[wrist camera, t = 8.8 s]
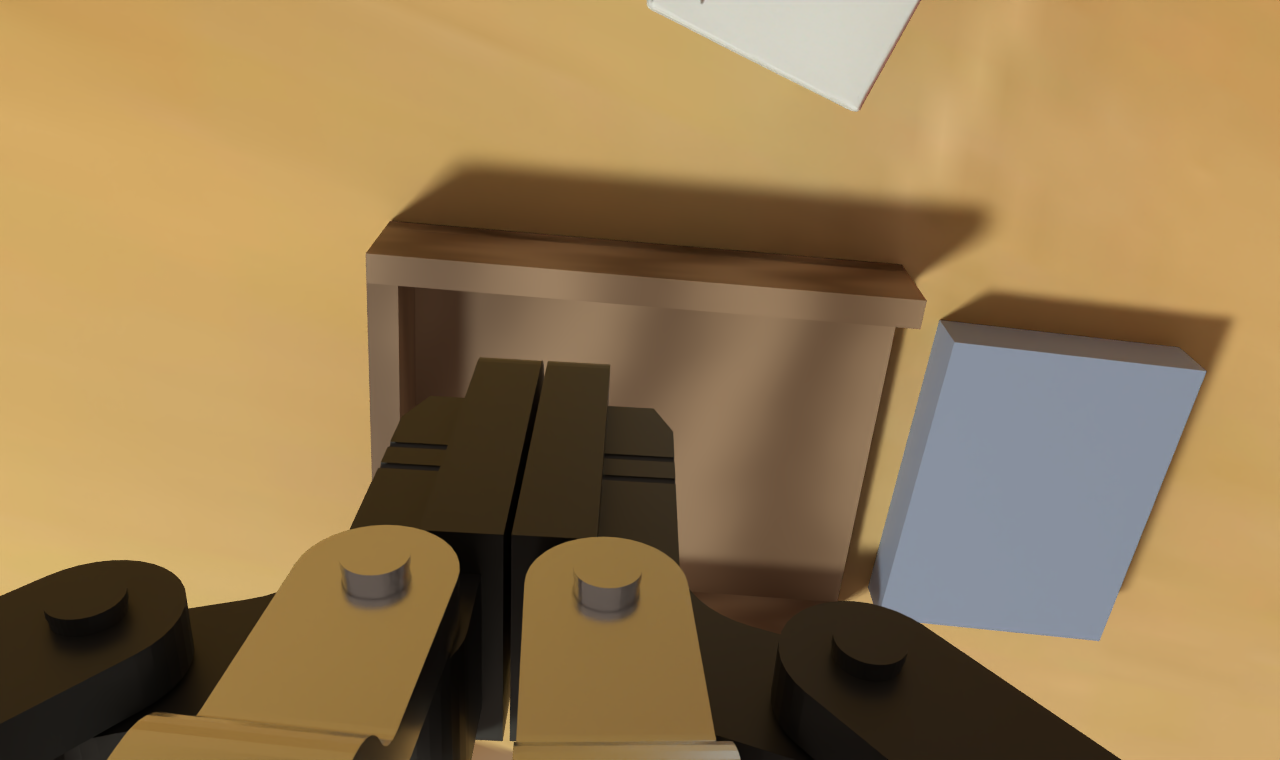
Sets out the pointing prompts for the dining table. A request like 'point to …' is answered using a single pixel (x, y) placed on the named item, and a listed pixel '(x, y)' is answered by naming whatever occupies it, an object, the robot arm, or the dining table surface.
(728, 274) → the walnut tray
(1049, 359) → the cover plate
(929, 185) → the dining table surface
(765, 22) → the small box
